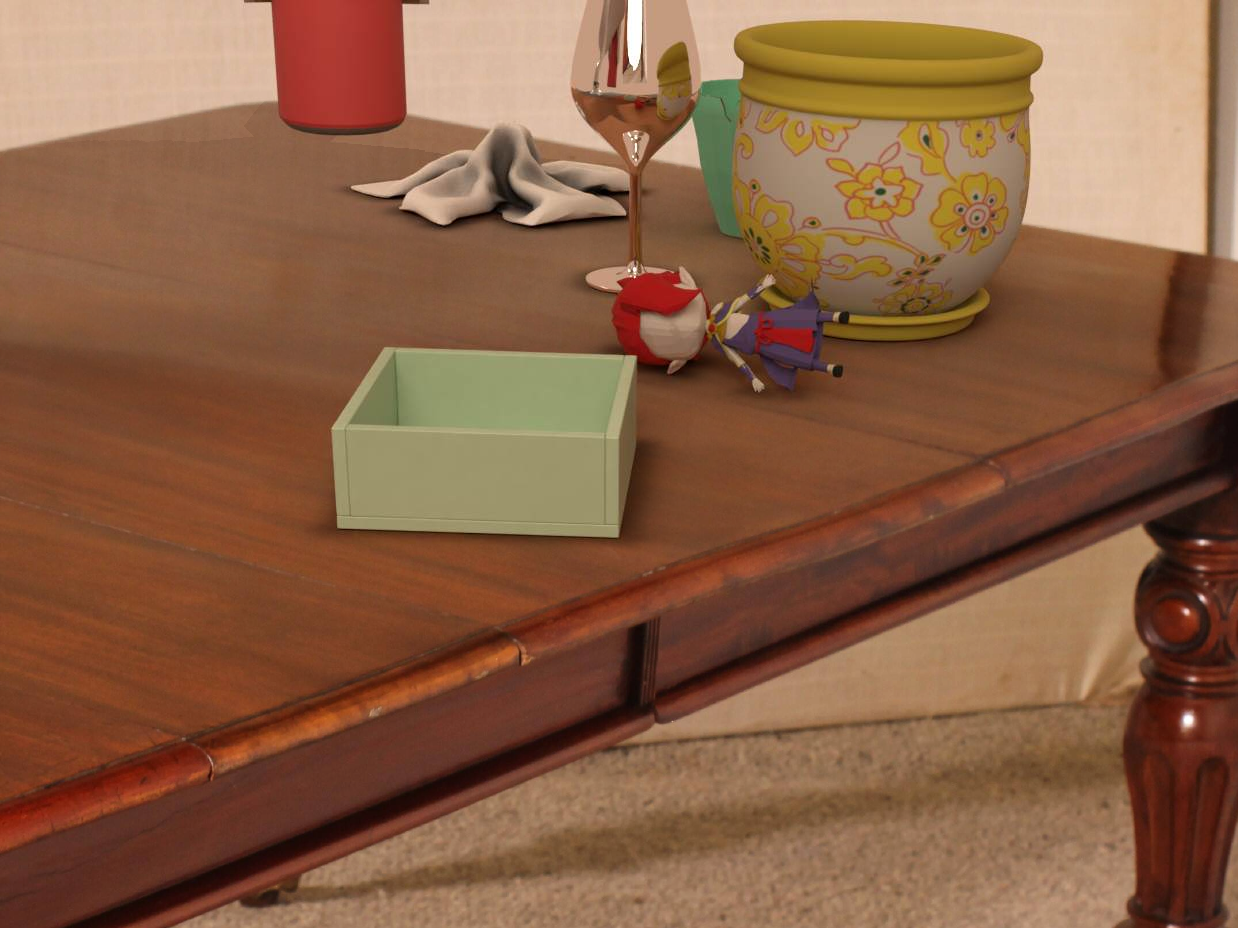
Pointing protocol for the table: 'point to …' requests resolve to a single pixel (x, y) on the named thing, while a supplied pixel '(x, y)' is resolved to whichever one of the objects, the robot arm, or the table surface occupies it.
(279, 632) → the table surface
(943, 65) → the flowerpot
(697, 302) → the figurine
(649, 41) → the wineglass
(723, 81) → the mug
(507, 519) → the tub
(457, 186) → the cloth
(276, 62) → the beer can
